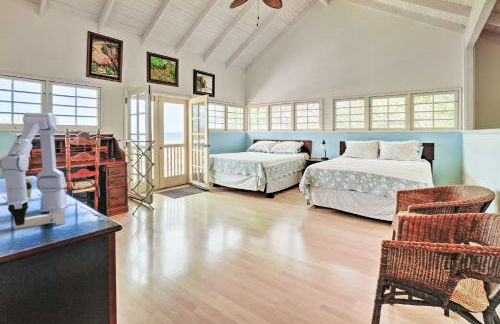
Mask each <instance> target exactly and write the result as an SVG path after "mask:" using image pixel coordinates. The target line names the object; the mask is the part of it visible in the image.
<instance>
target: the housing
mask: <svg viewBox="0 0 500 324" xmlns="http://www.w3.org/2000/svg"><path fill="white" fill-rule="evenodd" d="M48 214H50V215H51V221H53V223H54V225H55V226H61V225H64V224H66V215H65V211H64V209H61V208H60V207H59V206H58V205H52V206H49V212H48Z"/></svg>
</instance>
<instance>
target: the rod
mask: <svg viewBox="0 0 500 324" xmlns="http://www.w3.org/2000/svg"><path fill="white" fill-rule="evenodd" d="M12 220H13V230H19V229H23V228H24V229H26V228H31V227H35V226H42V225H46V224H52V220H51V215H50V214H49V213H47V214H40V215H35V216H34V215H33V216H27V217H26V216H25V221H24V224H23V225H18V226H16V224H15V221H14V219H12Z"/></svg>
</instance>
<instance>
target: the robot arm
mask: <svg viewBox="0 0 500 324" xmlns="http://www.w3.org/2000/svg"><path fill="white" fill-rule="evenodd" d="M22 117H23V118H22V123H23V125H24V126H23V129H22V132H21V134H20V138H19V139H16V140H14V141H13V143H12V145H11V147H10V149H9V151H8V153H7V154H6V155H4V156H2V157H1V158H0V170H1V172H2V176H3V177H4V179H5V191H6V192H5V193H6V204H8V208H7V210H8V212H10V214H11V216H12V218H13V220H14V221H15V224H16V226H18V225H23V224H24V221H25V218H26V213H27V211H28V209H29V203H28V201H32V200H33V199H32V198H33V197H31V198H28V197H27V187H26V178H27V177H26V170H28V168H29V159H30V158H29V155H30V154H31V151H32V149H33V144H32V141H33V140H34V138H35V137H36V135H37V134H38V135H39V137H40V138H39V139H40V150H41V151H40V153H41V163H42V164H41V165H42V166H41V167H42V170H41V171H40V172H38V173H37V174H36V181H35V186H36V188H37V190H39V192H40V193H41V194H42V195H41V196H42V205H43V208H42V209H39V210H38V212H39V213H42V212H43V213H47V212H48V213H49V206H52V205H58V206H59V207H60V208H61V209H62V210H64V209H65V208H68V207H69V204H67V202H68V201H67V194H66V191H65V190H64V188H65V187H66V183H67V181H66V177H65V173H64V172H63V171H61V170H59V169H57V160H56V159H57V158H56V146H55V133H56V132H57V131H58V128H57V127H58V124H57V119H56V117H55V115H54V114H53V113H52V112H25V113H24V115H23V116H22Z"/></svg>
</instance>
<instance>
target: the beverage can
mask: <svg viewBox="0 0 500 324" xmlns="http://www.w3.org/2000/svg"><path fill="white" fill-rule="evenodd" d="M32 186H33V180H32V178H31V177H26V187H27V197H28V198H32V188H33V187H32Z"/></svg>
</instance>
